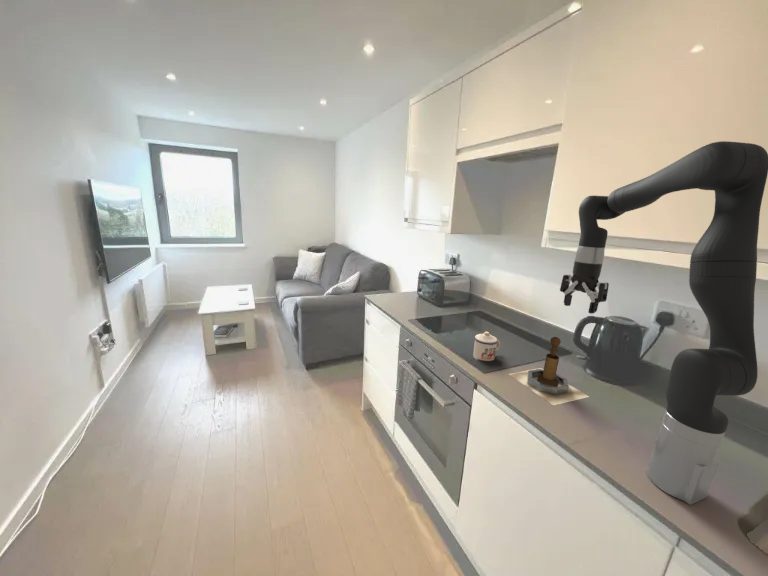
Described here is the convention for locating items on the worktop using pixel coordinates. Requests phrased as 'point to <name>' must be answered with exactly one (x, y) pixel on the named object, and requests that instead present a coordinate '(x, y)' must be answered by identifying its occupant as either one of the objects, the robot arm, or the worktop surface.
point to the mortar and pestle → (551, 365)
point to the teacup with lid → (485, 347)
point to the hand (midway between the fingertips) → (578, 309)
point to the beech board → (552, 399)
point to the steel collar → (546, 388)
